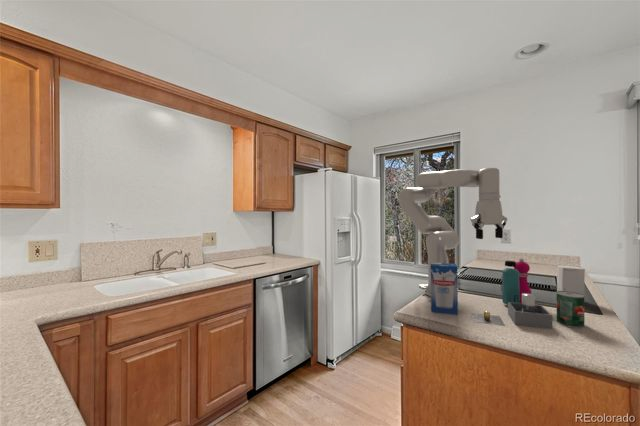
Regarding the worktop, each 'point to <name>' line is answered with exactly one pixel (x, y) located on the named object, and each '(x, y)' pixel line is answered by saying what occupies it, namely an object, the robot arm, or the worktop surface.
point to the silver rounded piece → (528, 303)
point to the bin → (530, 316)
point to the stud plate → (492, 319)
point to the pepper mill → (523, 277)
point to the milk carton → (444, 288)
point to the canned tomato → (570, 309)
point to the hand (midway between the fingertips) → (489, 238)
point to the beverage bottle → (510, 283)
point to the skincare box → (570, 279)
